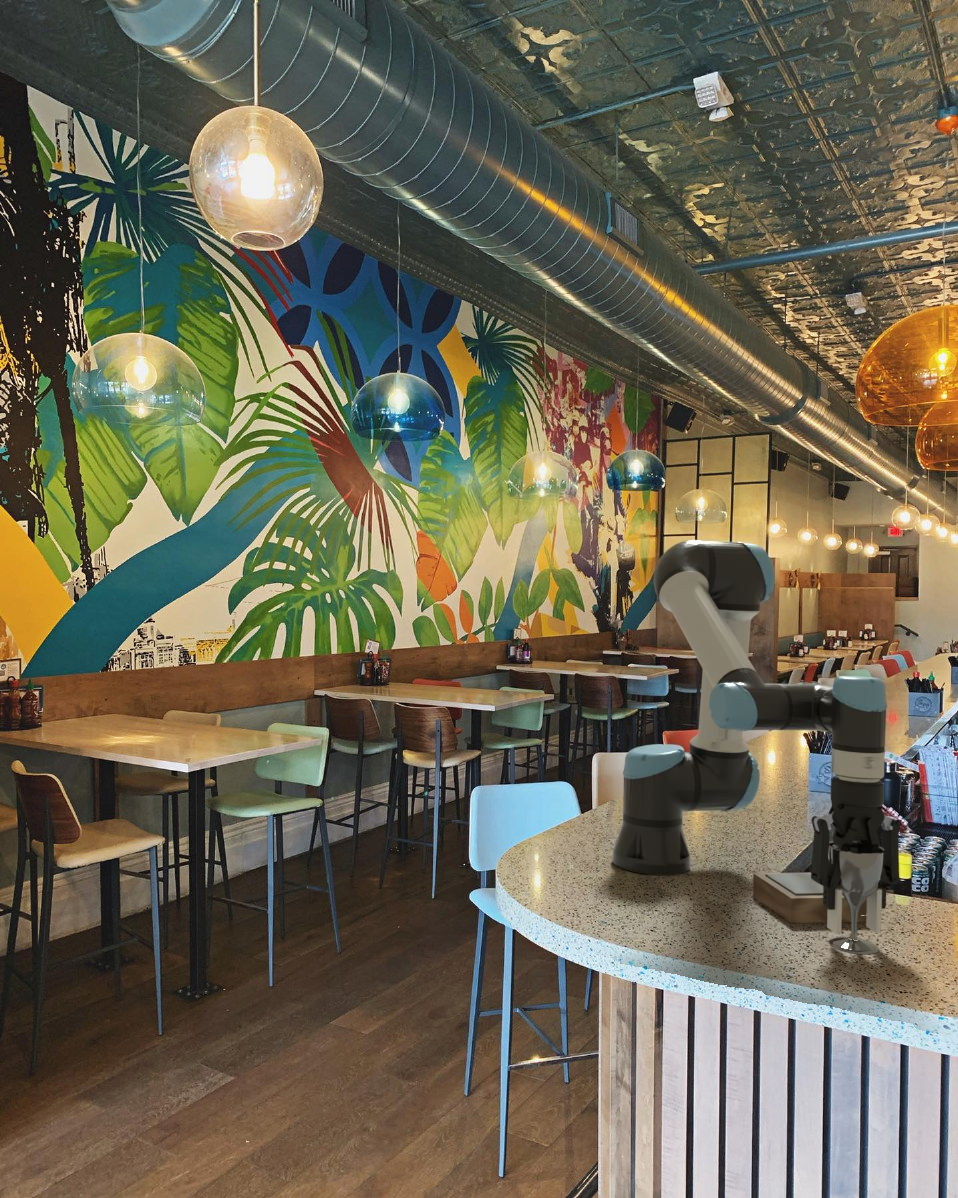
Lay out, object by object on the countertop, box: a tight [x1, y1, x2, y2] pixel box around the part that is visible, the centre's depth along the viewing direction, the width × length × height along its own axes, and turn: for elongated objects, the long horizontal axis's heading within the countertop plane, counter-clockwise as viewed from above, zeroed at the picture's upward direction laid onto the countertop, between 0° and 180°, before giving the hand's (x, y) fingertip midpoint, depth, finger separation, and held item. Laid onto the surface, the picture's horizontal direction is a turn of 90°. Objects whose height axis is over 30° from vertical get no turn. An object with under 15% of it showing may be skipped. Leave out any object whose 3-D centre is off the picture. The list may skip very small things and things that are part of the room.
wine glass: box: [828, 840, 884, 955], centre depth 136 cm, size 8×8×15 cm
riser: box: [752, 872, 867, 924], centre depth 153 cm, size 14×14×4 cm
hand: (853, 929), depth 136 cm, fingers closed on wine glass, 6 cm apart
